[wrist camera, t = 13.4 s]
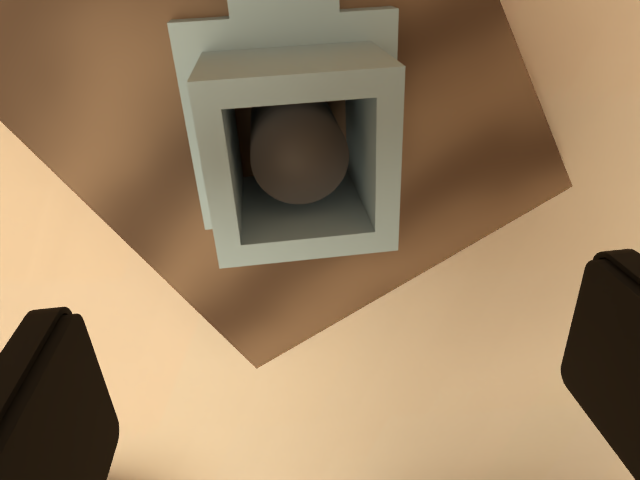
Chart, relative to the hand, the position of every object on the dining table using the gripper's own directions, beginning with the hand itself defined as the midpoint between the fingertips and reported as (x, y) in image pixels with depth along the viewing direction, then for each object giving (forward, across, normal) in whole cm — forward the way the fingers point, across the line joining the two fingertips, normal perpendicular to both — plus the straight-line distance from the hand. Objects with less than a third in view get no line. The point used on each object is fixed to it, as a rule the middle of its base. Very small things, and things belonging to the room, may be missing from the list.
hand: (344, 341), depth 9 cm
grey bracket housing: (+13, 0, -3) cm, 13 cm away
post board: (+15, 0, -1) cm, 15 cm away
